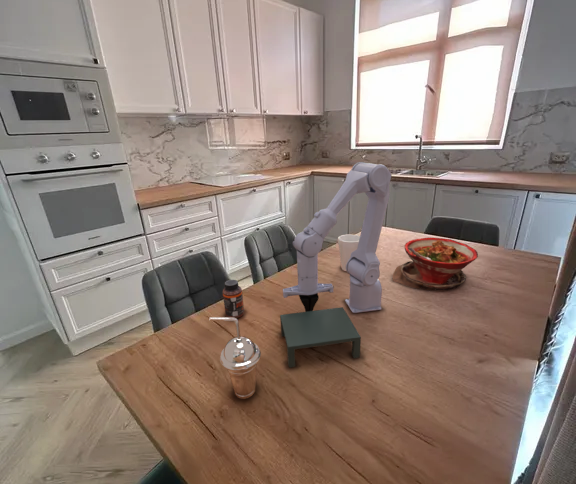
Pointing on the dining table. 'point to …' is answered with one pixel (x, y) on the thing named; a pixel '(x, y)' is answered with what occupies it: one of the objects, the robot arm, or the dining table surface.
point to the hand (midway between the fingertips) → (308, 314)
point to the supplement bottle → (233, 299)
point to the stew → (434, 263)
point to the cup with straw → (240, 361)
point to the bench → (318, 330)
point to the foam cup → (347, 247)
